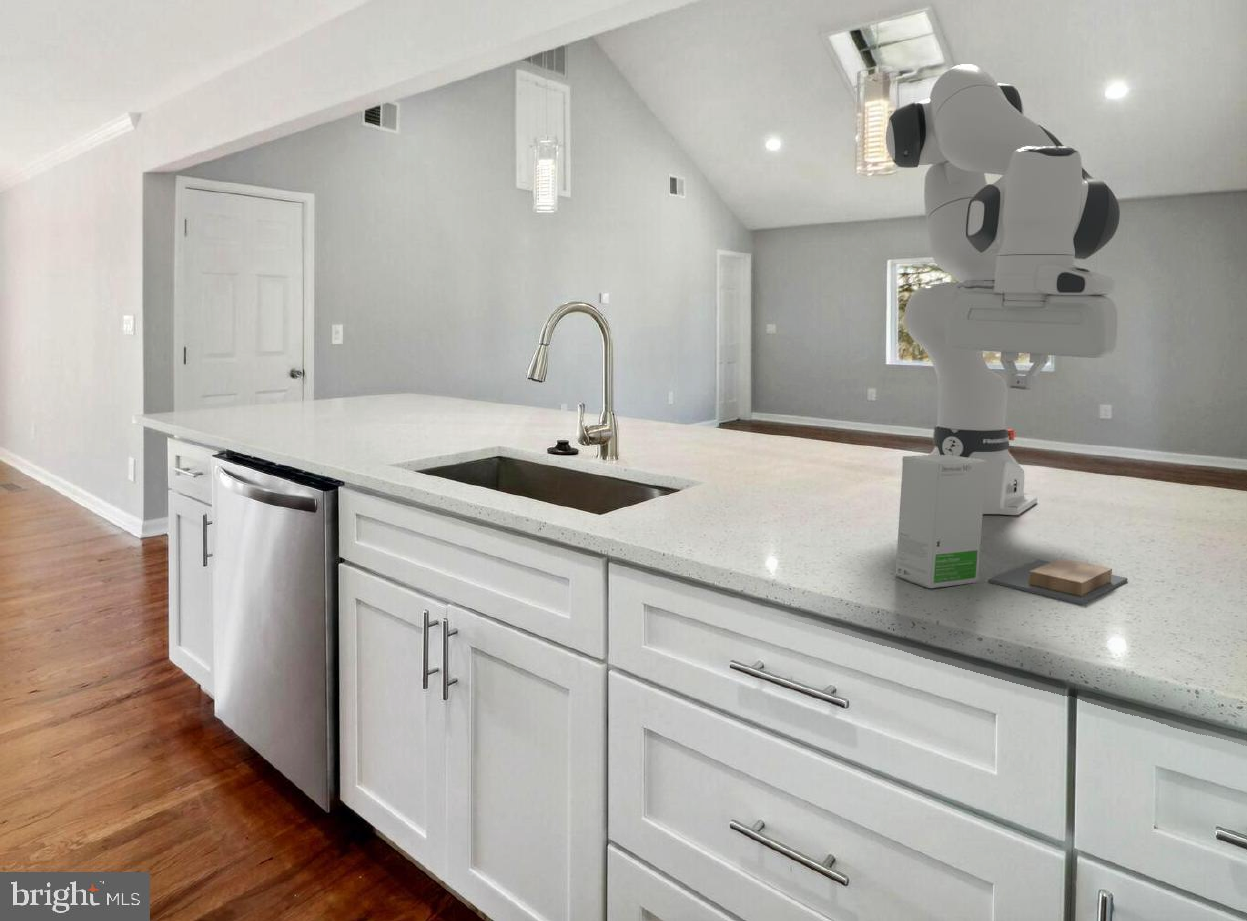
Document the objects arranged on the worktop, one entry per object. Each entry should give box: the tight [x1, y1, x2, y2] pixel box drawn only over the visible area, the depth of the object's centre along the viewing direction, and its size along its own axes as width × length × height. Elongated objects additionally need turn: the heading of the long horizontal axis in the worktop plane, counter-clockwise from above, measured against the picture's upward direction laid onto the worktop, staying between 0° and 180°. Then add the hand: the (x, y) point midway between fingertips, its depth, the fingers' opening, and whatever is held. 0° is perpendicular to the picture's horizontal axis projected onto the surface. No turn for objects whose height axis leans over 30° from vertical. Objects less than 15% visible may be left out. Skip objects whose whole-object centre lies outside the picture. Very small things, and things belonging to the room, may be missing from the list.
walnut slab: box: [1029, 558, 1113, 596], centre depth 101 cm, size 9×2×6 cm
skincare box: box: [895, 454, 987, 589], centre depth 103 cm, size 8×7×16 cm
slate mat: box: [987, 558, 1128, 605], centre depth 103 cm, size 14×11×1 cm
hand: (1020, 388), depth 107 cm, fingers closed
